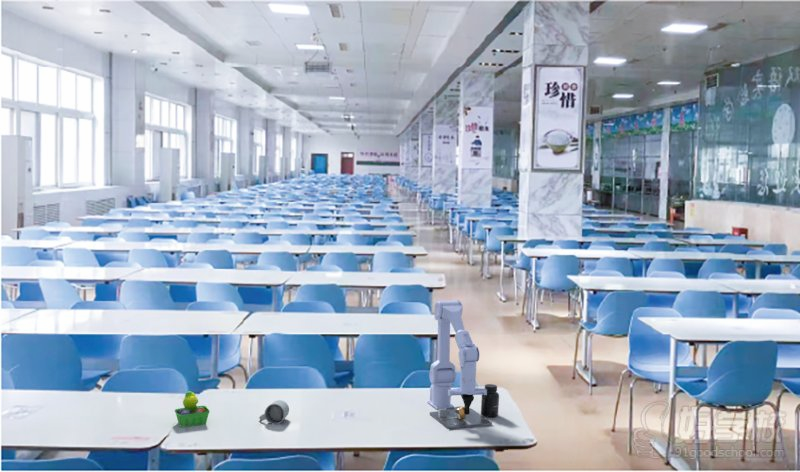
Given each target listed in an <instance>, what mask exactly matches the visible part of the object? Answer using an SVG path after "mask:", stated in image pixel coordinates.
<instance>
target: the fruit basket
mask: <svg viewBox="0 0 800 472" xmlns="http://www.w3.org/2000/svg"><path fill="white" fill-rule="evenodd" d="M198 403H199V399H198V398H197V396H196V393H194V392H193V391H186V392H185V395H184V398H183V400H182V405H183V407H181V408H180V407H179V408H175V409H174V412H175V416H176V418H177V419H176V420H177V423H178V424H179V426H180V427H181V428H185V427H192V426H193V427H194V426H200V425H206V424H207V422H208V417H209V414H210V412H211V410H210V409H209V408H208V407H207V406H206V405H197V404H198Z"/></svg>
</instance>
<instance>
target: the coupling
mask: <svg viewBox="0 0 800 472" xmlns="http://www.w3.org/2000/svg"><path fill="white" fill-rule="evenodd" d="M453 410H454V412H456V413H459V419H465V407H464V406H454V409H453Z"/></svg>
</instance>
